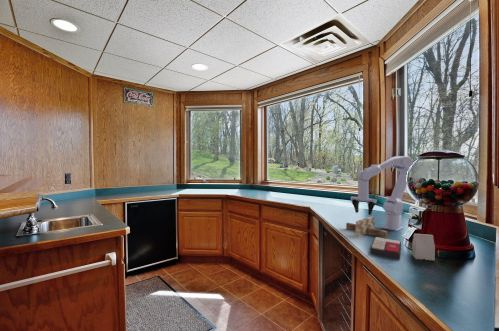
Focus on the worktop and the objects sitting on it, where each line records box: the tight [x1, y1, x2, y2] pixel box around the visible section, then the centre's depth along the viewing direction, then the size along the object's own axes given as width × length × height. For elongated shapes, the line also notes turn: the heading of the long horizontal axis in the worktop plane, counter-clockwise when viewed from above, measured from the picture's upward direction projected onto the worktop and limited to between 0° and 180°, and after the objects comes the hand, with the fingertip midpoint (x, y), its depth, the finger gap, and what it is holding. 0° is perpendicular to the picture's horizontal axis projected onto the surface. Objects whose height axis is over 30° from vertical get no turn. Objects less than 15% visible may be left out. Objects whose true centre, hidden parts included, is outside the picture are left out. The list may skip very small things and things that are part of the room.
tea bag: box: [411, 233, 436, 262], centre depth 98 cm, size 4×7×10 cm, turn 72°
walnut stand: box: [345, 222, 388, 239], centre depth 131 cm, size 22×2×4 cm, turn 38°
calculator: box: [369, 236, 402, 261], centre depth 105 cm, size 11×4×15 cm
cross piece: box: [355, 215, 376, 238], centre depth 131 cm, size 18×2×8 cm, turn 128°
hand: (363, 213), depth 137 cm, fingers open, 7 cm apart
